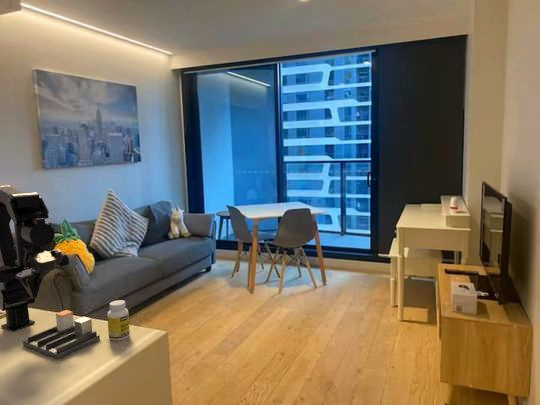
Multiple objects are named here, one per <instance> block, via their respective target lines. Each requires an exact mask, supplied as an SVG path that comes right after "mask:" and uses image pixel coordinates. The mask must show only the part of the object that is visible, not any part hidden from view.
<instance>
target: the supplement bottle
mask: <svg viewBox="0 0 540 405" xmlns="http://www.w3.org/2000/svg"><path fill="white" fill-rule="evenodd" d="M126 306H127V305H126V301H125V300H123V299H119V300H114V301H111V302H109V311H107V330H108V331H107V334H108V339H109V340H110V341H116V342H117V341H123V340H126V339H127V338H129V337H130V335H131V333H130V332H131V331H130V314H129V310H128V308H126Z"/></svg>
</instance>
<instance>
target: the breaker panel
mask: <svg viewBox="0 0 540 405" xmlns="http://www.w3.org/2000/svg"><path fill="white" fill-rule="evenodd" d="M73 322H74V326H72V327H70V328H67V329H65V330H63V331H57V325H54V326H53V327H50V328H47V329H45V330H43V331H40V332H37V333H35V334H32V335H30V336H28V337H27V339H25V340H22V348H26V349H27V350H30V351H32V352H36V353H38V354H41V355H43V356H45V357H49V358H51V359H52V360H53V359H54V360H55V361H60V360H62V359H64V358H66V357H68V356H70V355H72V354H74V353H76V352H79V351H81V350H84V349H86V348H88V347H89V346H91V345H93V344H96V343H98V342H99V341H101V338H100V334H97V331H96V330H94V331H93V324H92V318H90V317H86V316H83V317H80V318H77V319H75V320H73Z"/></svg>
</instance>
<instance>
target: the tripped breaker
mask: <svg viewBox="0 0 540 405" xmlns="http://www.w3.org/2000/svg"><path fill="white" fill-rule="evenodd" d="M55 320H56V326H57V331H63V330H65V329H67V328H70V327H72V326H74V313H73V311H70V310H68V309H65V310H62V311H60V312H56V313H55Z"/></svg>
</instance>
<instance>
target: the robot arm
mask: <svg viewBox="0 0 540 405" xmlns="http://www.w3.org/2000/svg"><path fill="white" fill-rule="evenodd" d="M49 213H50V212H49V210H48V207H47V205H46V203H45V201H44V200H43V198H42V196H40V194H39V193H38V192H31V191H30V192H22V191H20V190H18V189H16V188H13V186H12V185H9V184H3V185H2V184H1V185H0V311H2V312H5V320H6V323H5V324H2V325H1V328H3V329H6V330H8V331H12V332H15V331H18V330H20V329H23V328H26V327H29V326H31V325H34V324H36V321H35V320H33V319H30V313H29V312H30V311H29V305H31V304H35V301H36V298H38V294H39V291H40V288H41V283H42V282H43V279H44V278H45V276H47V274H49V273H50V272H52V271H54V270H56V266H58V267H60V268H61V267H64V266H69V265H71V264H70V257H69V256H68V255H67V254H64V253H63V252H62V250H61V249H59V248H57V249H52V250H50V251H47V249H46V246H49V244H51V243H52V242H53V241H54V239H55V234H56V233H55V232H56V231H55V230H54V228H53V227H52V225H51V224H48V223H46V219H49V218H50V217H49ZM11 221H12V222H13V227H14V236H15V237H13V233H12V229H11V225H10V223H11ZM14 238H15V241H14Z"/></svg>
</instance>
